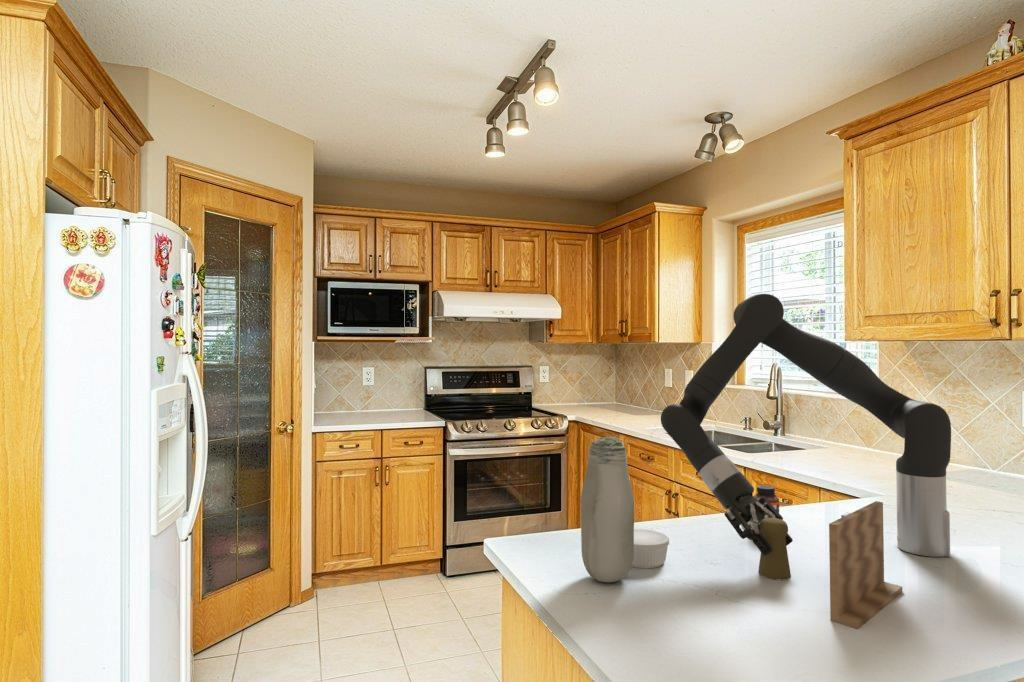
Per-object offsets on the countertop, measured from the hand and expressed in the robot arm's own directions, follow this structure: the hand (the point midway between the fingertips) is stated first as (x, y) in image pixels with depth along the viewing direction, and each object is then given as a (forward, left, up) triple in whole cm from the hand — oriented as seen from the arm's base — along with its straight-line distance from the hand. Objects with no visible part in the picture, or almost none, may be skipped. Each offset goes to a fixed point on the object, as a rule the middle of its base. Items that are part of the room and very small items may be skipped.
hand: (779, 548), depth 118 cm
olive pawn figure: (+1, 0, -6) cm, 6 cm away
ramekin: (+27, +3, -6) cm, 28 cm away
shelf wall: (-14, +9, -5) cm, 18 cm away
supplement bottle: (+3, -28, -6) cm, 29 cm away
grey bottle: (+31, +16, -6) cm, 35 cm away
